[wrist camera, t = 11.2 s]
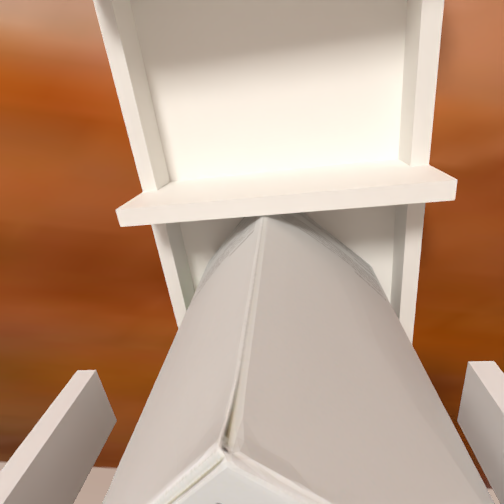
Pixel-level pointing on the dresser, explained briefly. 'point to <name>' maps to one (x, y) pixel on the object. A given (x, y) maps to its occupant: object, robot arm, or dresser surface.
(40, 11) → the dresser surface
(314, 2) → the caddy rack
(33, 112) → the dresser surface
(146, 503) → the skincare box
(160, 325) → the dresser surface
